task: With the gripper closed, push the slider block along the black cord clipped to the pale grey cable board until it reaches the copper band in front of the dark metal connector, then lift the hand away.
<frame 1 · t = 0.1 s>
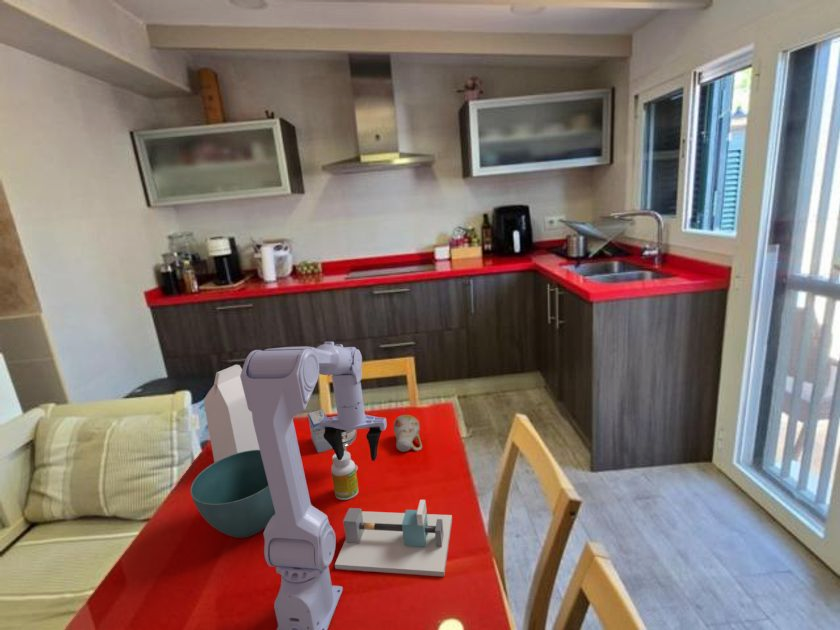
hand: (357, 457, 97), 10 cm above the table, fingers open, 7 cm apart
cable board: (397, 542, 85), on the table
milk: (247, 458, 120), on the table
wineglass: (348, 470, 110), on the table
supplement bottle: (347, 493, 101), on the table
teal bowl: (250, 524, 94), on the table
medicine box: (322, 445, 123), on the table
slider block: (414, 522, 83), point 5 cm above the table, slide at 0.0 cm
mug: (407, 444, 119), on the table
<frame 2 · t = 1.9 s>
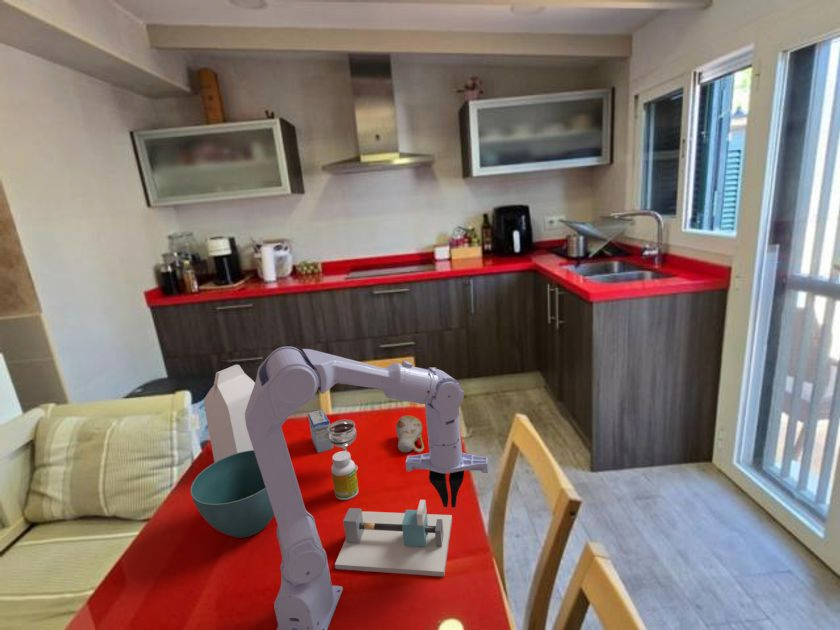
hand: (450, 503, 81), 9 cm above the table, fingers closed
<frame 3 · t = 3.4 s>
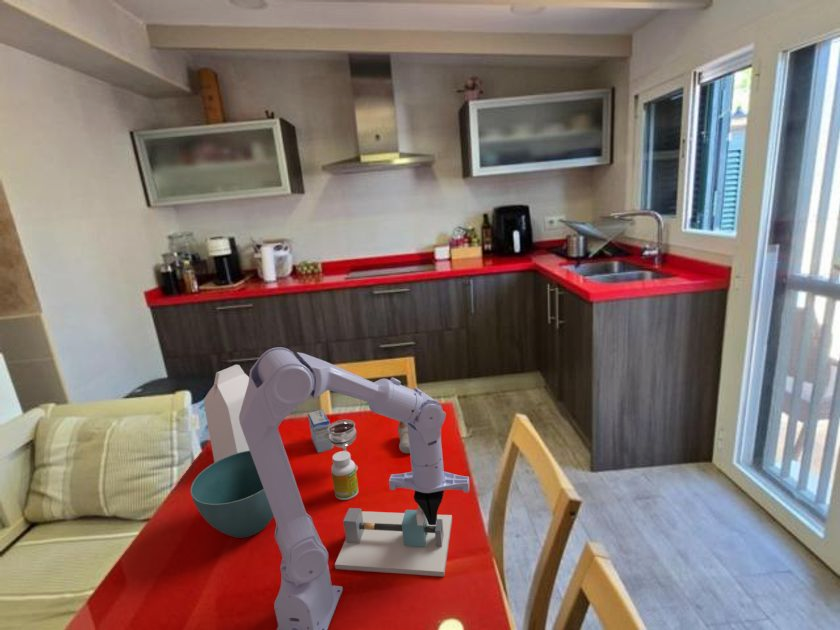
hand: (432, 521, 82), 5 cm above the table, fingers closed
slider block: (414, 522, 83), point 5 cm above the table, slide at 0.1 cm, touching gripper
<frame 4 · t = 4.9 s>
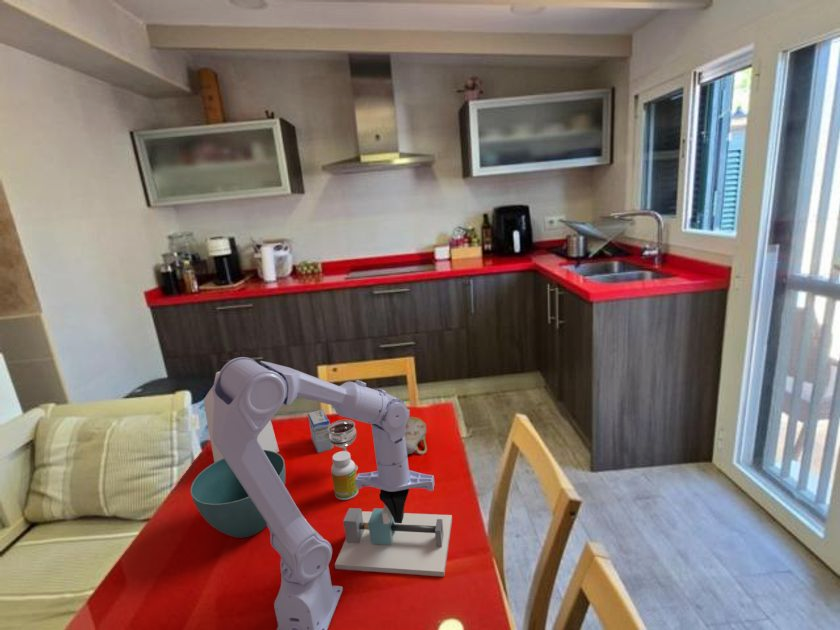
hand: (399, 519, 83), 5 cm above the table, fingers closed
slider block: (381, 520, 84), point 5 cm above the table, slide at 6.5 cm, touching gripper
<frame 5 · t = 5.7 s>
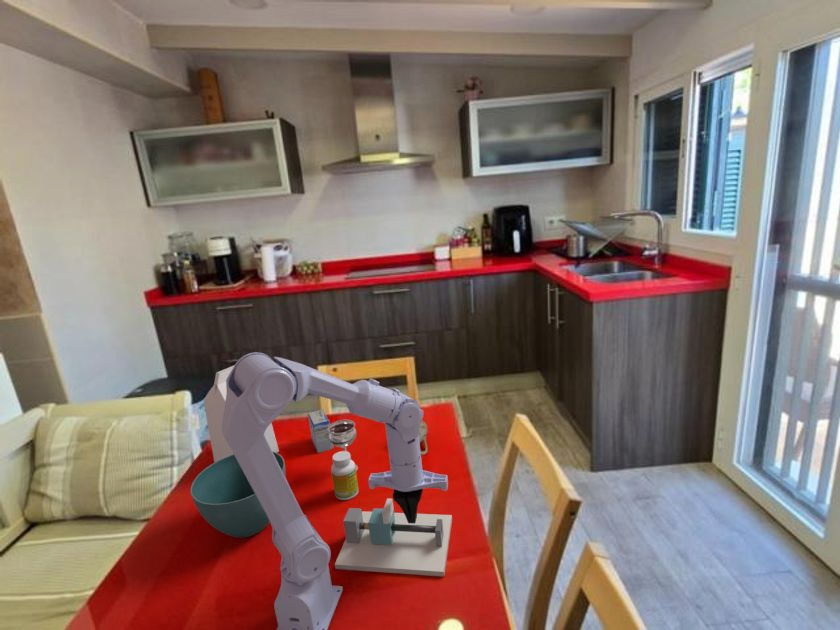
hand: (412, 519, 83), 5 cm above the table, fingers closed
slider block: (381, 520, 84), point 5 cm above the table, slide at 6.5 cm
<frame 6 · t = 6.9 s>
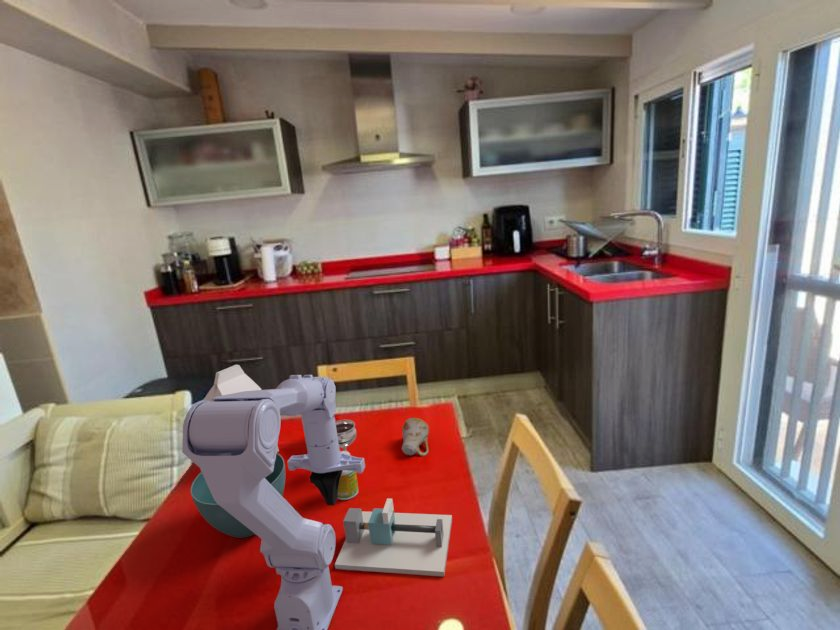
hand: (332, 501, 84), 9 cm above the table, fingers closed
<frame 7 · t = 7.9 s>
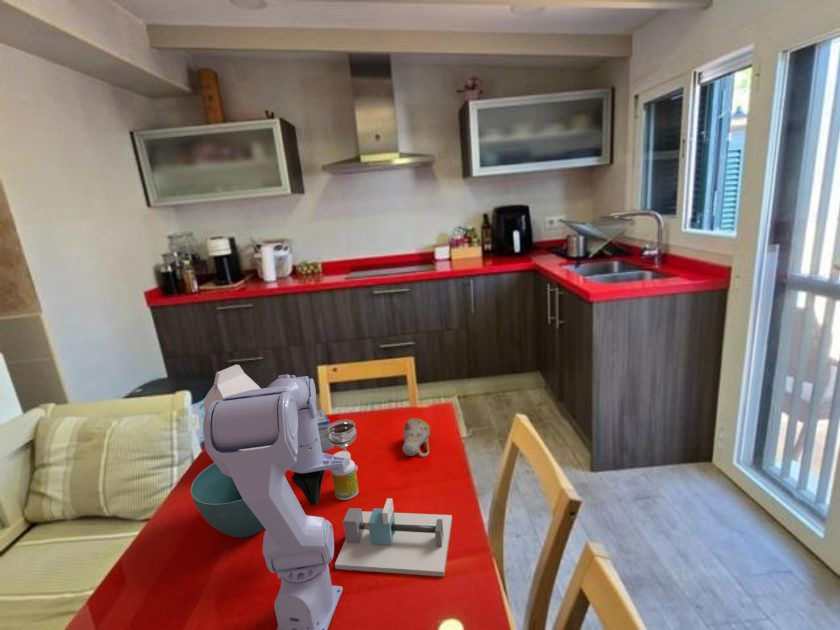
hand: (315, 501, 84), 9 cm above the table, fingers closed
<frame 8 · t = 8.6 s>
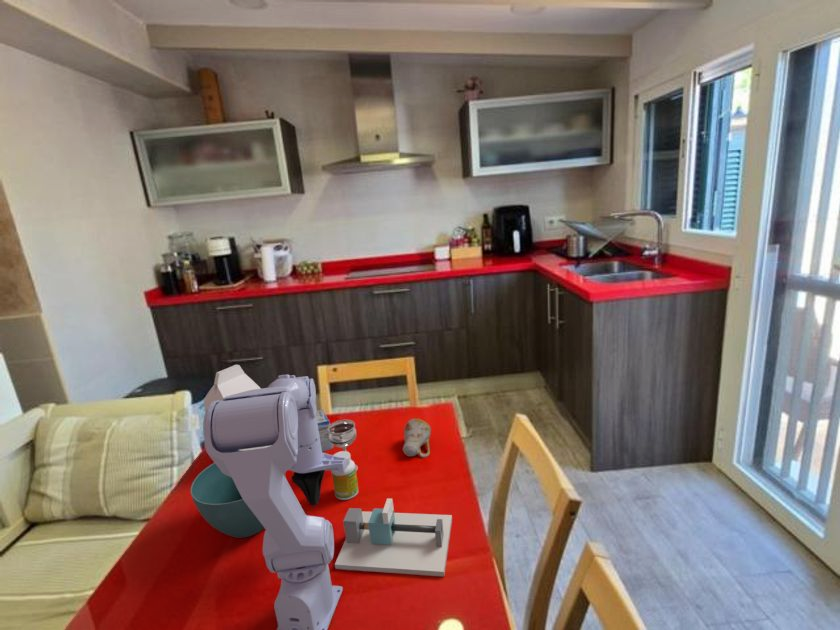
hand: (315, 501, 84), 9 cm above the table, fingers closed
at the end: slider block slide at 6.5 cm; the gripper is holding nothing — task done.
